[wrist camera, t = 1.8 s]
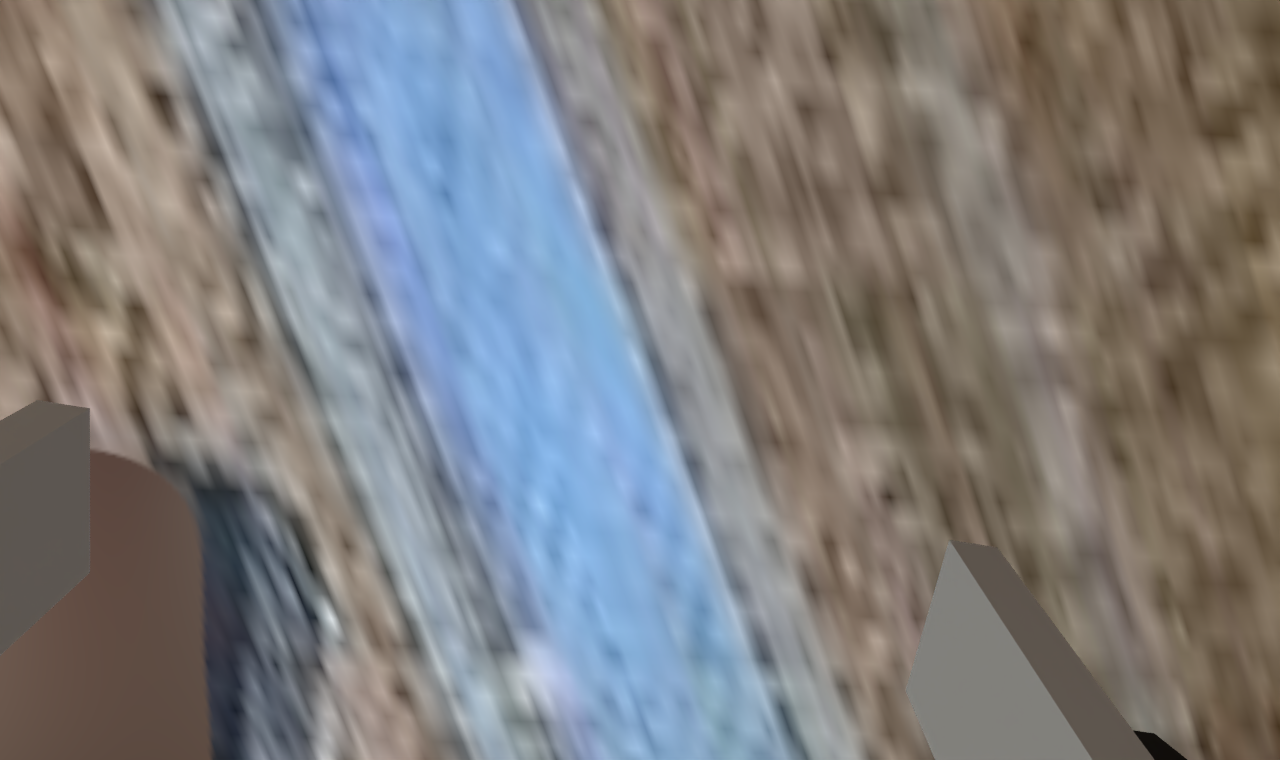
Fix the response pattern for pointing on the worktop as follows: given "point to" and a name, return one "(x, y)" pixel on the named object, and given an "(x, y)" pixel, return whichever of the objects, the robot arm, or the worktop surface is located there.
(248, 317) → the worktop surface
